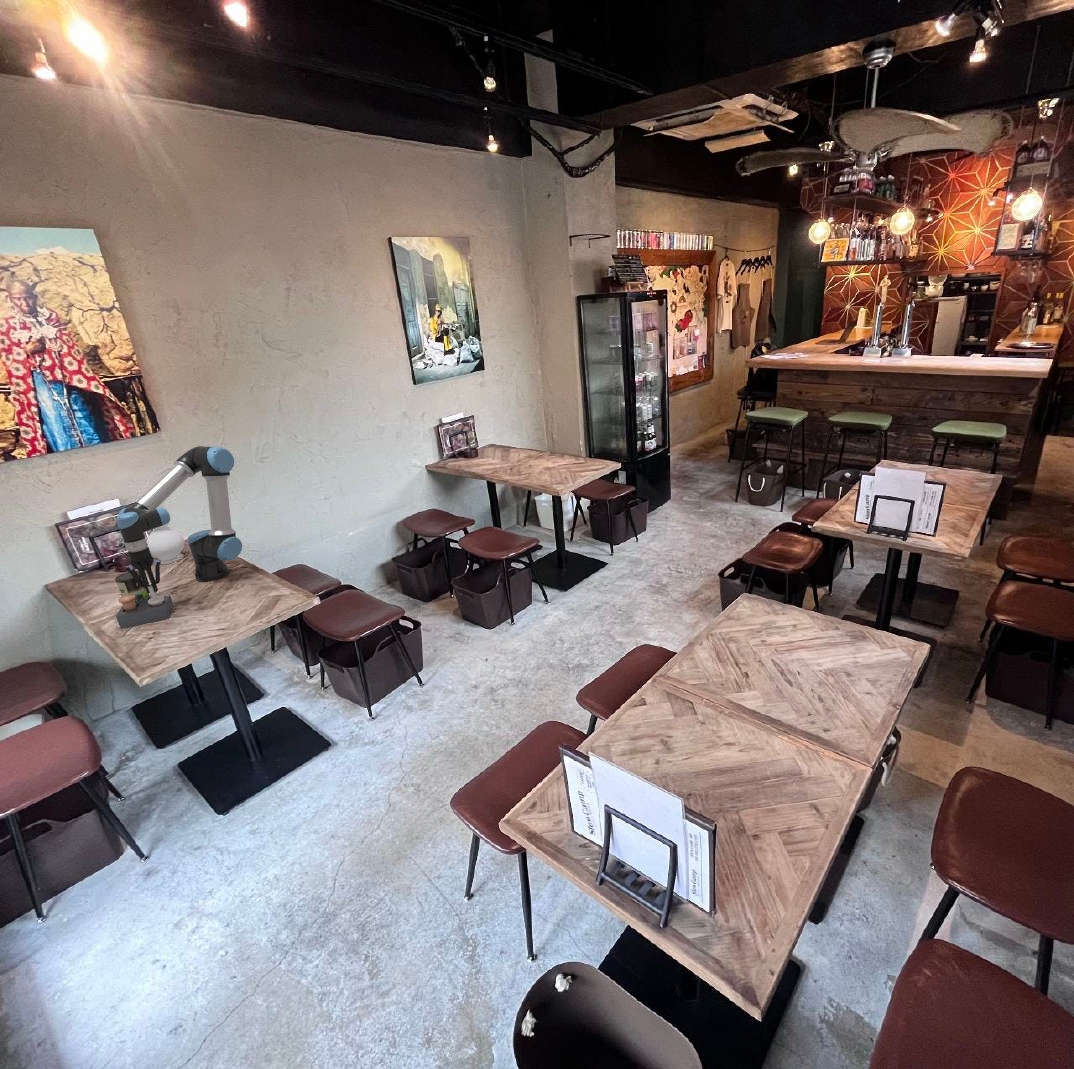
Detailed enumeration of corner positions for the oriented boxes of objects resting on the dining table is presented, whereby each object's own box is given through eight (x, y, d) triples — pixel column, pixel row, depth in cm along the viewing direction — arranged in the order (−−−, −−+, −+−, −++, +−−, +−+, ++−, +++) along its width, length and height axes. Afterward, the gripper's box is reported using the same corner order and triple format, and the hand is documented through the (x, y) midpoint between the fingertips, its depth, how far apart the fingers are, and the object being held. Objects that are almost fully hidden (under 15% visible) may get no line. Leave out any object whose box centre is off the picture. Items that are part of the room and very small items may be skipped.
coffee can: (155, 596, 271) (145, 569, 266) (145, 606, 262) (134, 578, 256) (131, 599, 270) (121, 572, 265) (120, 609, 260) (109, 581, 255)
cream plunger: (169, 608, 256) (165, 594, 254) (166, 614, 251) (162, 600, 249) (154, 611, 254) (149, 597, 252) (151, 617, 249) (146, 603, 247)
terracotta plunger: (141, 606, 252) (136, 592, 249) (137, 612, 247) (132, 598, 244) (125, 609, 250) (120, 595, 248) (121, 615, 245) (116, 601, 242)
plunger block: (174, 606, 260) (170, 594, 257) (168, 618, 249) (164, 606, 247) (128, 616, 254) (123, 604, 252) (120, 628, 244) (115, 616, 241)
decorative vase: (193, 557, 314) (179, 514, 305) (157, 569, 302) (141, 524, 293) (183, 550, 326) (169, 508, 316) (147, 560, 314) (132, 517, 305)
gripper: (117, 555, 236) (135, 606, 245) (153, 549, 240) (170, 599, 249) (122, 548, 243) (140, 598, 251) (157, 543, 247) (173, 592, 255)
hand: (155, 598), depth 250 cm, fingers closed
